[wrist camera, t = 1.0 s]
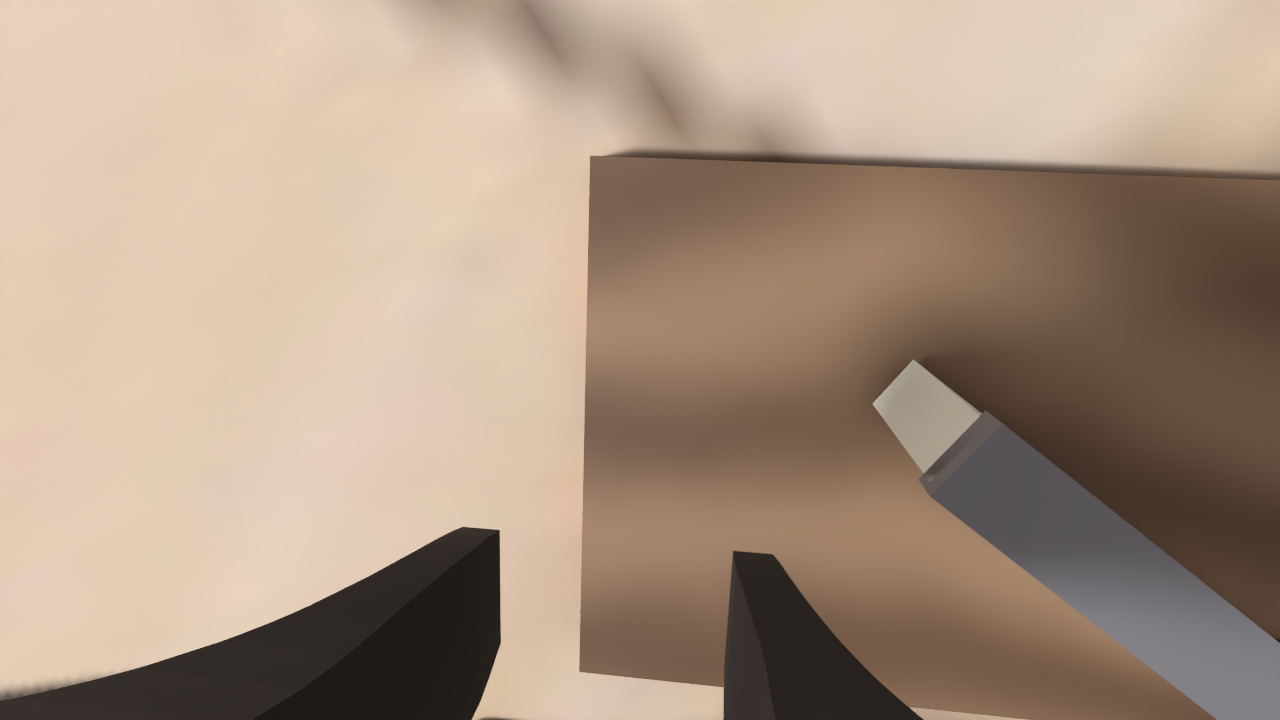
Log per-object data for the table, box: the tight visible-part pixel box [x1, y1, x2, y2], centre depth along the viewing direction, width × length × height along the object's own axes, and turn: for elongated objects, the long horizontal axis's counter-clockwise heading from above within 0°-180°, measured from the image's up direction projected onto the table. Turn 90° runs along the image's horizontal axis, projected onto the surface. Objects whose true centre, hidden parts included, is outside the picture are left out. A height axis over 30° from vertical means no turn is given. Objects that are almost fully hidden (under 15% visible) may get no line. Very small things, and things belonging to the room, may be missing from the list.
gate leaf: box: [873, 359, 1280, 720], centre depth 15 cm, size 12×2×5 cm, turn 53°
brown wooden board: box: [579, 156, 1280, 720], centre depth 16 cm, size 15×22×8 cm
